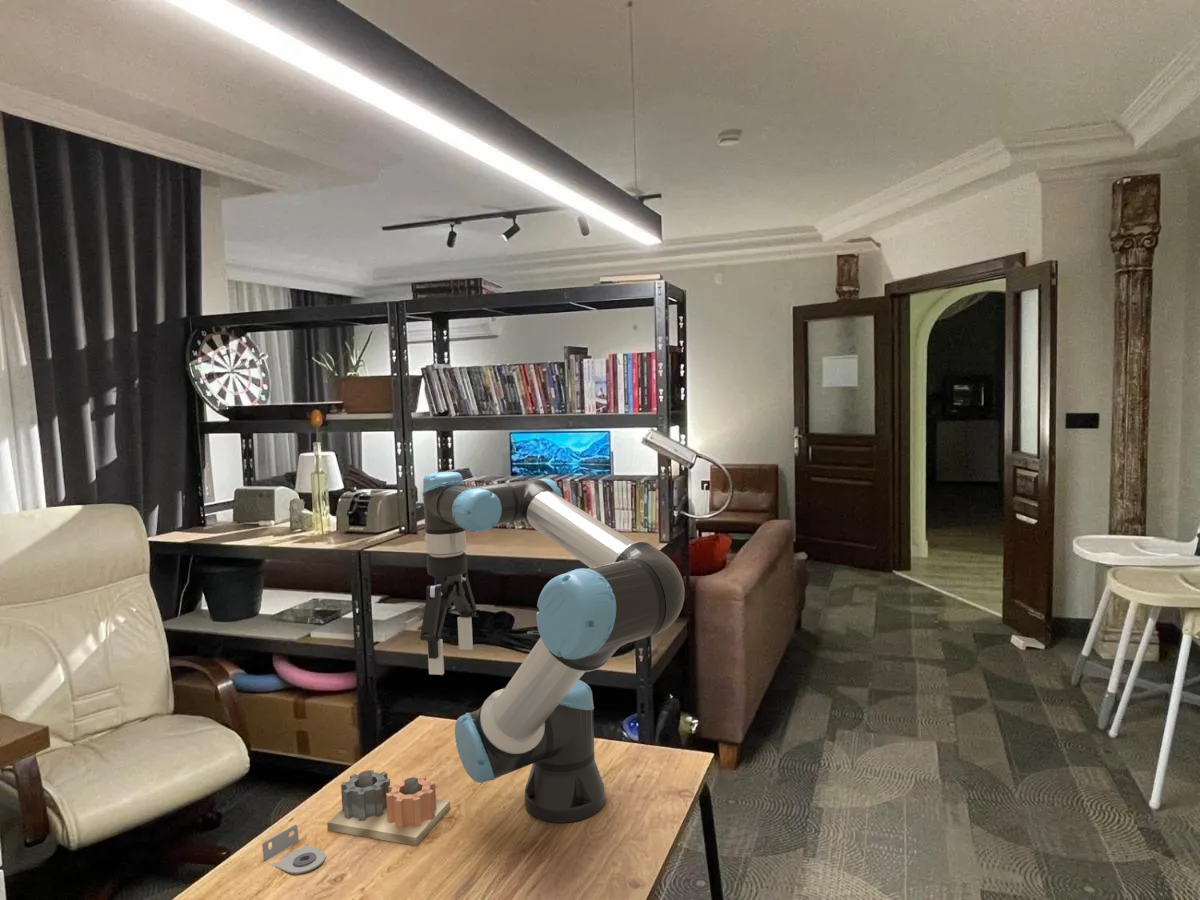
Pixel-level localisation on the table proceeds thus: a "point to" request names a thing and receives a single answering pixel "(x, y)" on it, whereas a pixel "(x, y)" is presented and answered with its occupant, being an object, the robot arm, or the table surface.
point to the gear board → (378, 810)
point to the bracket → (293, 853)
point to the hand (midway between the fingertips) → (451, 661)
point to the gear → (411, 803)
